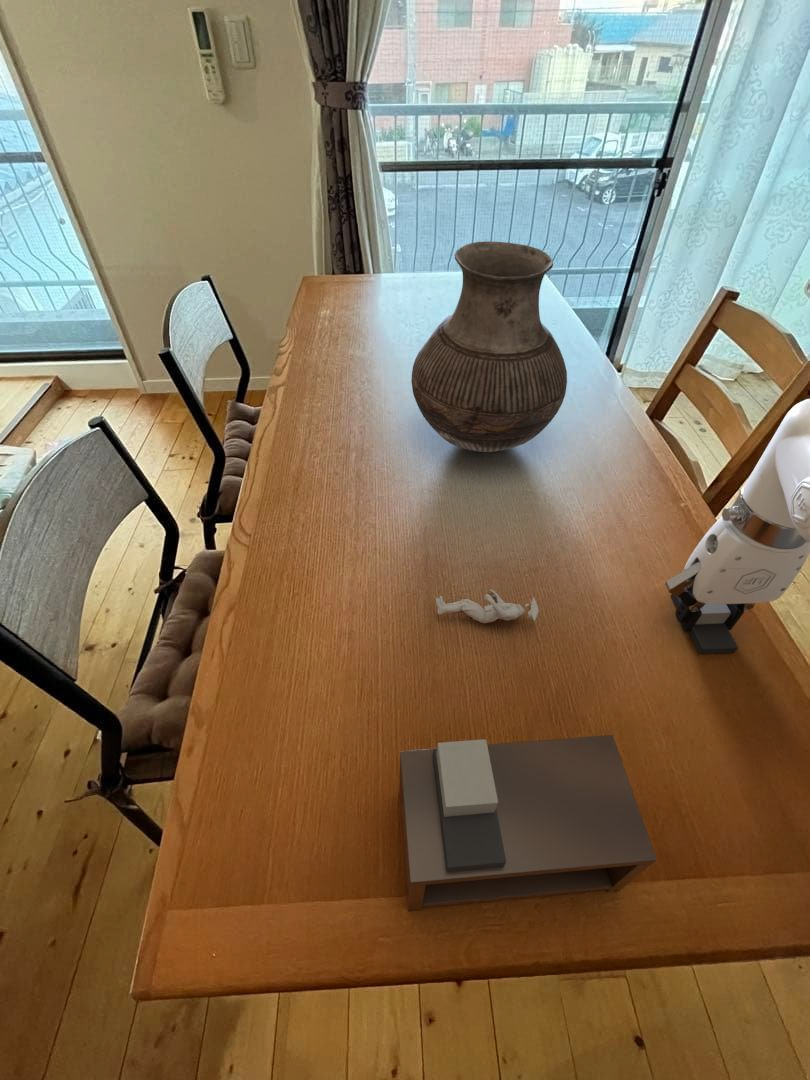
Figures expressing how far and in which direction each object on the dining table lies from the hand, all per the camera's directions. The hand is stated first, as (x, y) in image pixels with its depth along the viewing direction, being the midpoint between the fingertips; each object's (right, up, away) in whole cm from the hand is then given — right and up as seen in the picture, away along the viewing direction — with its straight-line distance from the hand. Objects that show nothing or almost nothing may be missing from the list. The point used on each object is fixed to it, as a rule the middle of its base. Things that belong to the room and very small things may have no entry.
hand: (702, 620), depth 70 cm
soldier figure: (-27, 0, +1) cm, 27 cm away
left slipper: (-32, -11, -25) cm, 42 cm away
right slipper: (0, 0, 0) cm, 1 cm away
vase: (-24, +28, +27) cm, 46 cm away
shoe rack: (-28, -18, -17) cm, 38 cm away
